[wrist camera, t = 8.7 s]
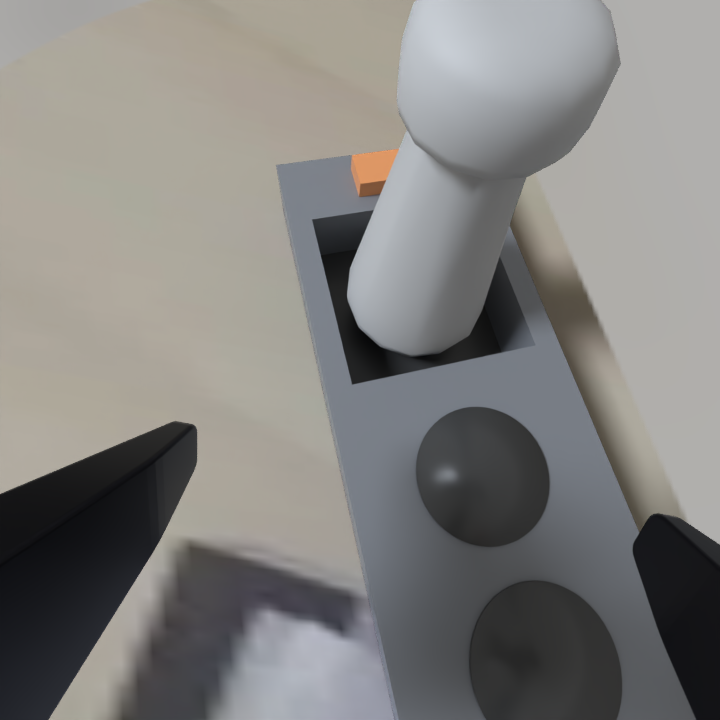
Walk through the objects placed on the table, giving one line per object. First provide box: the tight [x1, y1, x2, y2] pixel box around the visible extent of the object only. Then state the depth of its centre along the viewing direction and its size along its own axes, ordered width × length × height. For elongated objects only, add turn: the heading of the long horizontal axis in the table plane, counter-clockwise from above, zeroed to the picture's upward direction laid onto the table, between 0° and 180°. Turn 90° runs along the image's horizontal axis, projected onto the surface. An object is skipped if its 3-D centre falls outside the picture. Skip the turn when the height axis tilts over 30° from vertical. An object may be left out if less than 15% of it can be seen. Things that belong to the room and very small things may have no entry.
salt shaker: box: [347, 0, 621, 357], centre depth 13 cm, size 6×6×13 cm
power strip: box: [276, 149, 696, 720], centre depth 15 cm, size 31×10×4 cm, turn 14°
